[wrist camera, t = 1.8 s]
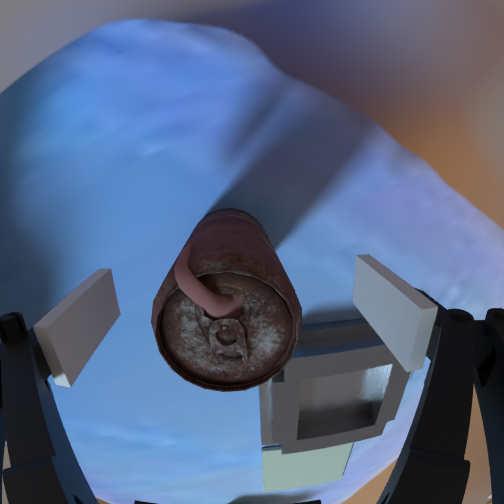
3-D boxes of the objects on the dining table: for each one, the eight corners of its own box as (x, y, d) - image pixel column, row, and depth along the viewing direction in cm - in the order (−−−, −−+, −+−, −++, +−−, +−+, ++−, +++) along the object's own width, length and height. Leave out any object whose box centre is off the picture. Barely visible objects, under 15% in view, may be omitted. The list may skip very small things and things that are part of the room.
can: (230, 189, 23) (228, 218, 10) (281, 249, 25) (336, 342, 11) (173, 239, 24) (109, 324, 10) (225, 294, 25) (222, 418, 12)
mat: (263, 488, 35) (263, 491, 34) (261, 448, 31) (261, 451, 31) (339, 476, 35) (340, 479, 35) (353, 433, 32) (354, 436, 31)
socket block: (261, 439, 31) (263, 460, 27) (256, 329, 26) (259, 351, 23) (384, 417, 32) (394, 435, 28) (411, 310, 27) (429, 326, 24)
